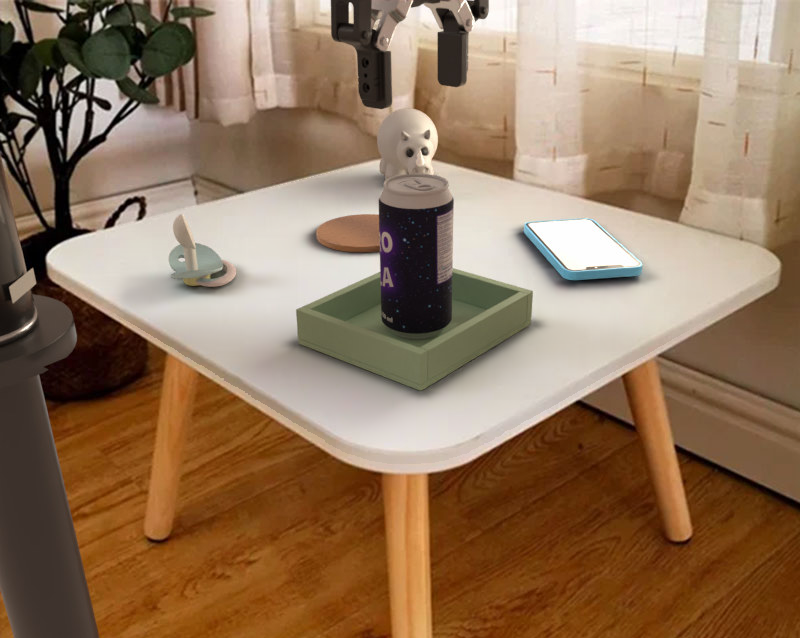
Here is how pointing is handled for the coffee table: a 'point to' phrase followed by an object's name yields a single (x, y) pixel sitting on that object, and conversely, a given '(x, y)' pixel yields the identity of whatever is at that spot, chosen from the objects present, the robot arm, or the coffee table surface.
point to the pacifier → (196, 259)
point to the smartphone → (582, 249)
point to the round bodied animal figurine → (406, 143)
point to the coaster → (351, 233)
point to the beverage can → (416, 254)
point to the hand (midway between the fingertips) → (415, 95)
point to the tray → (414, 358)
